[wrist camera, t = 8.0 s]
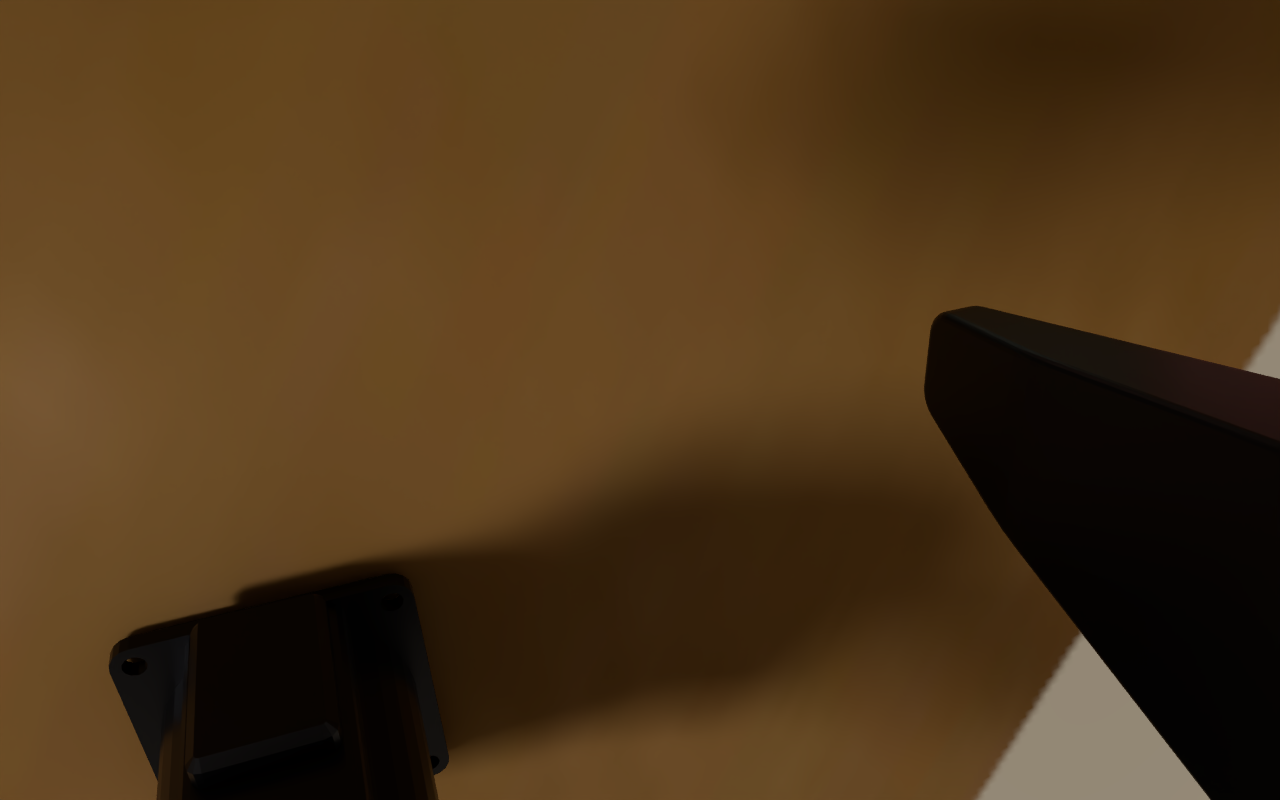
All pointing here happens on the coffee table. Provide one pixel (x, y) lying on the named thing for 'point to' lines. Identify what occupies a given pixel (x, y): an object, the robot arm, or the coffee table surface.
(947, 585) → the coffee table surface
